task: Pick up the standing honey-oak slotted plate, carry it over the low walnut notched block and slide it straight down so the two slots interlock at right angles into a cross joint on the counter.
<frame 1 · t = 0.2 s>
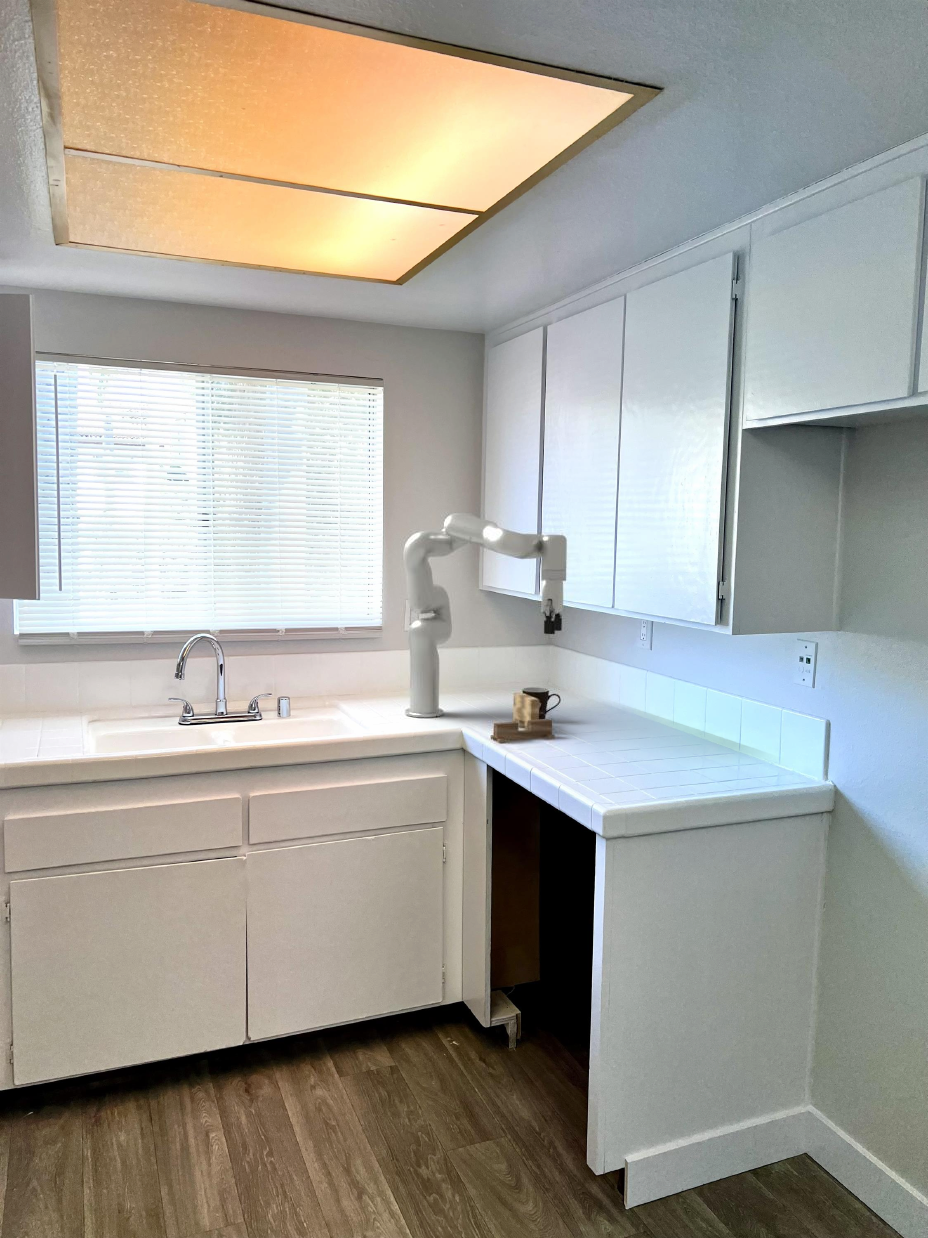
hand: (552, 632, 275), 30 cm above the counter, tool pointing down, fingers open, 9 cm apart
coffee mug: (539, 721, 290), on the counter
walnut notched block: (522, 738, 265), on the counter
oak slotted plate: (525, 728, 279), on the counter
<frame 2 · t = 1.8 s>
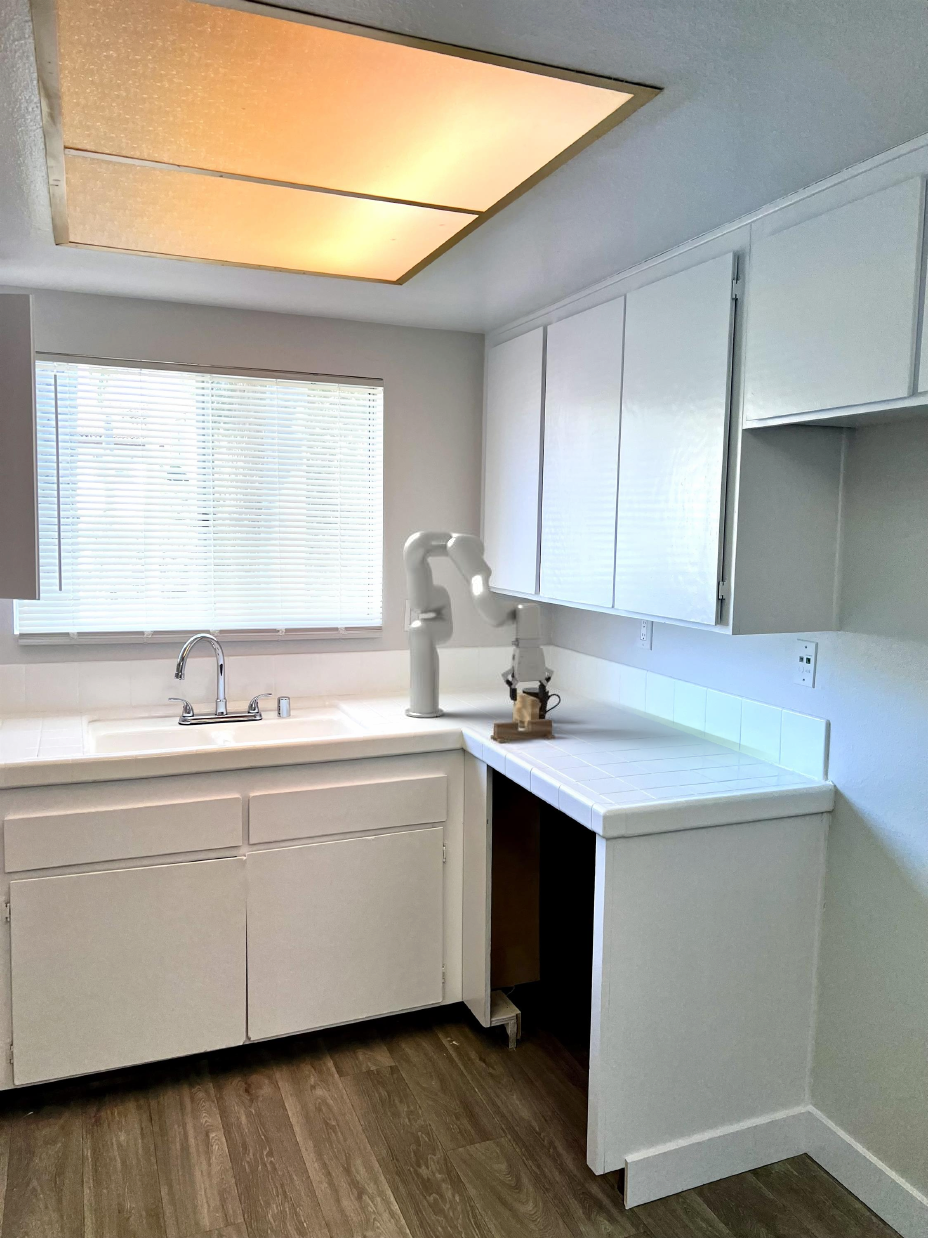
hand: (527, 699, 278), 9 cm above the counter, tool pointing down, fingers open, 9 cm apart
nothing on the counter moved.
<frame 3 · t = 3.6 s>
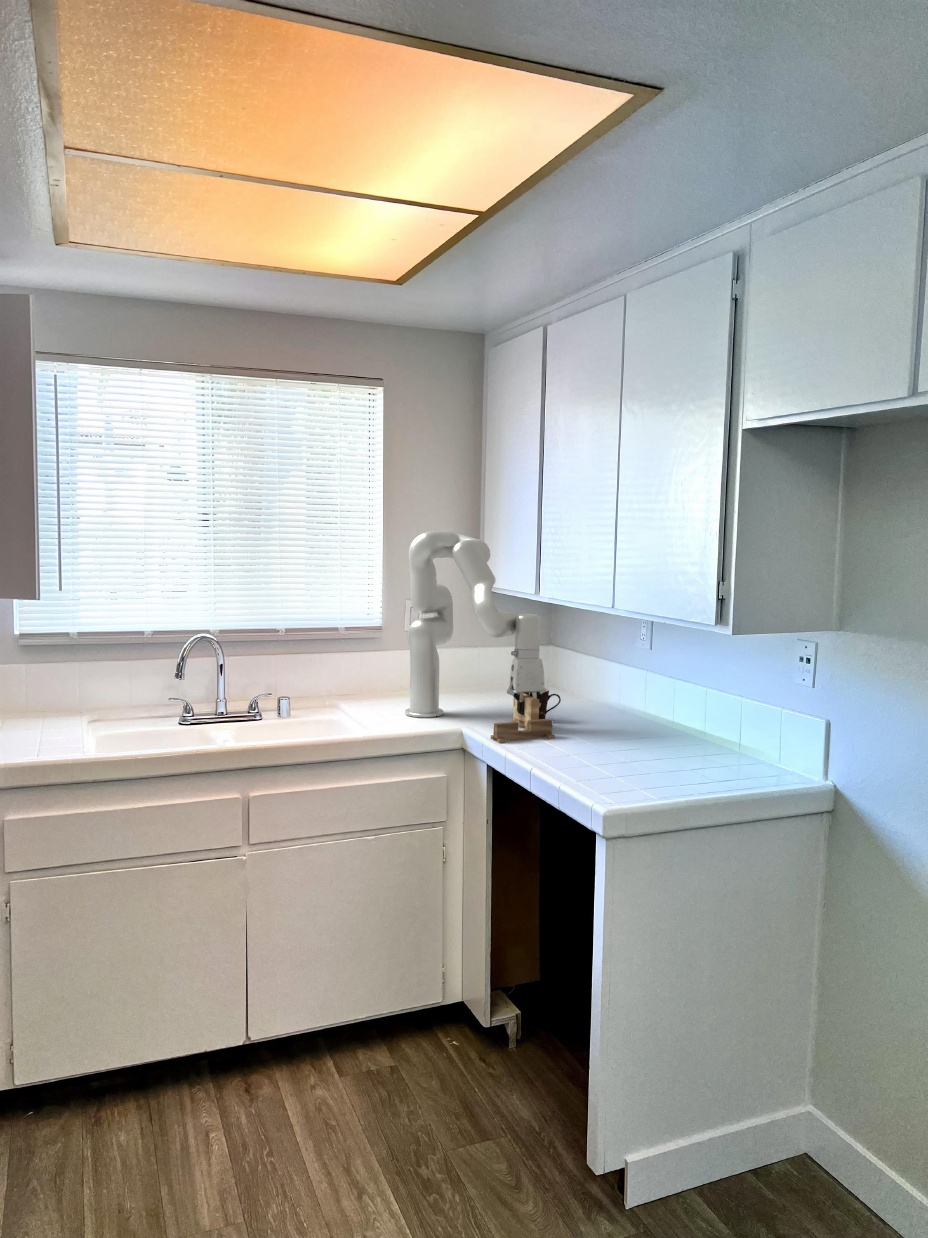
hand: (525, 713, 279), 5 cm above the counter, tool pointing down, fingers closed on oak slotted plate, 2 cm apart
oak slotted plate: (525, 728, 279), on the counter, touching gripper
everything else where it was.
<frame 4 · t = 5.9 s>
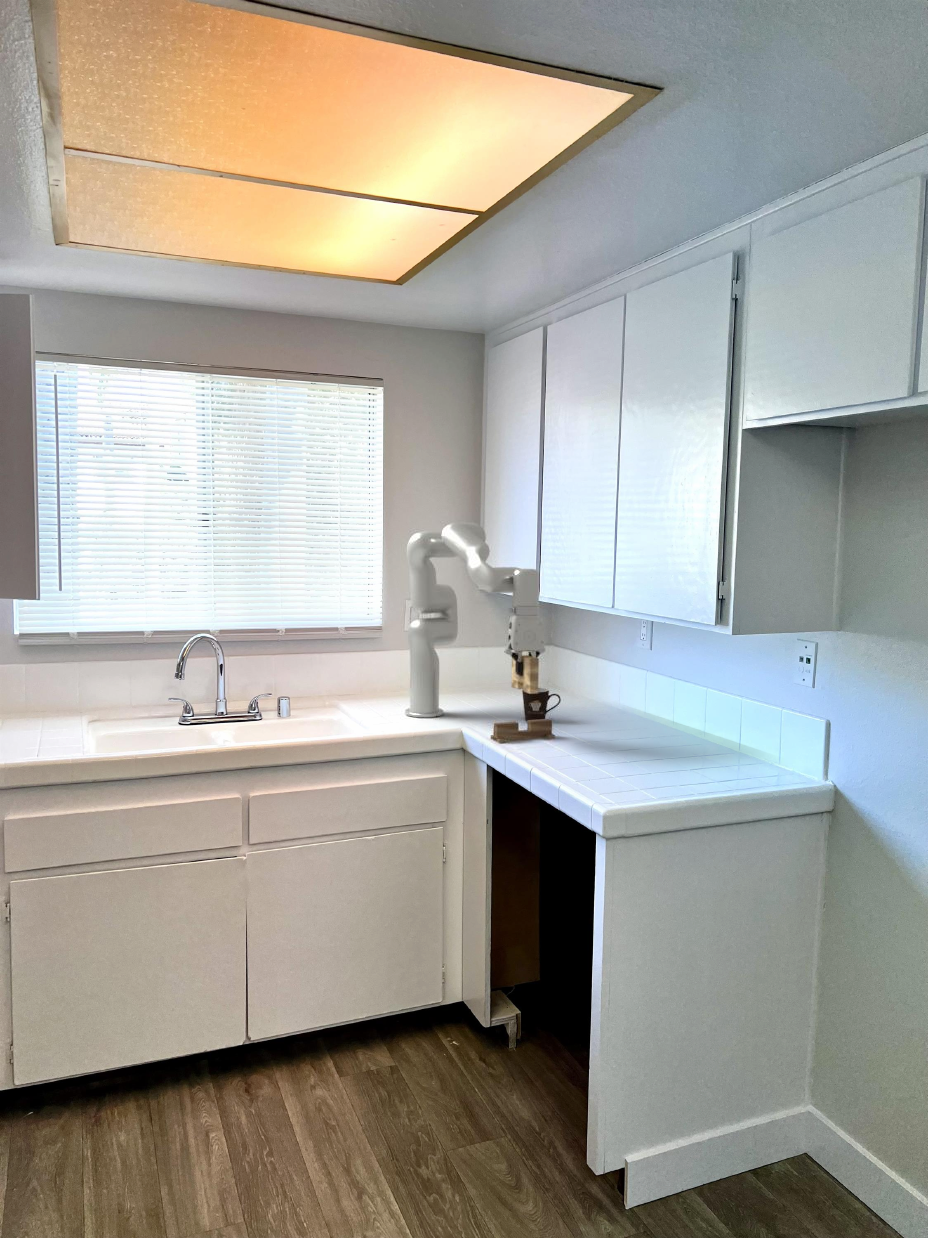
hand: (524, 674, 263), 19 cm above the counter, tool pointing down, fingers closed on oak slotted plate, 2 cm apart
oak slotted plate: (524, 690, 264), point 14 cm above the counter, touching gripper
everything else where it was.
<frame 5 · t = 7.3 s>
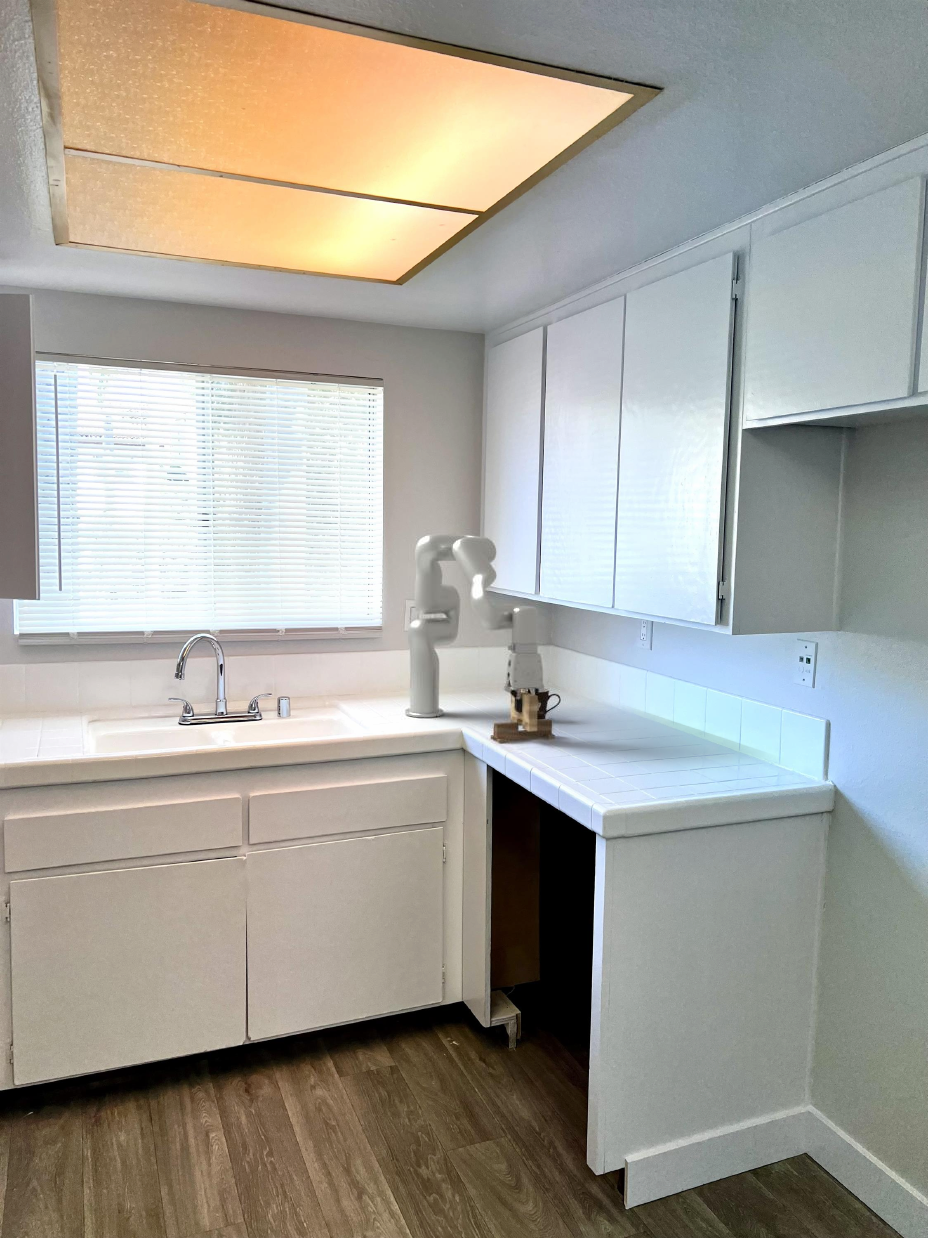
hand: (523, 711, 265), 8 cm above the counter, tool pointing down, fingers closed on oak slotted plate, 2 cm apart
oak slotted plate: (523, 726, 265), point 3 cm above the counter, touching gripper
everything else where it was.
when the fingers open (6 cm above the counter, at t = 8.3 s): oak slotted plate drops 1 cm, on the counter.
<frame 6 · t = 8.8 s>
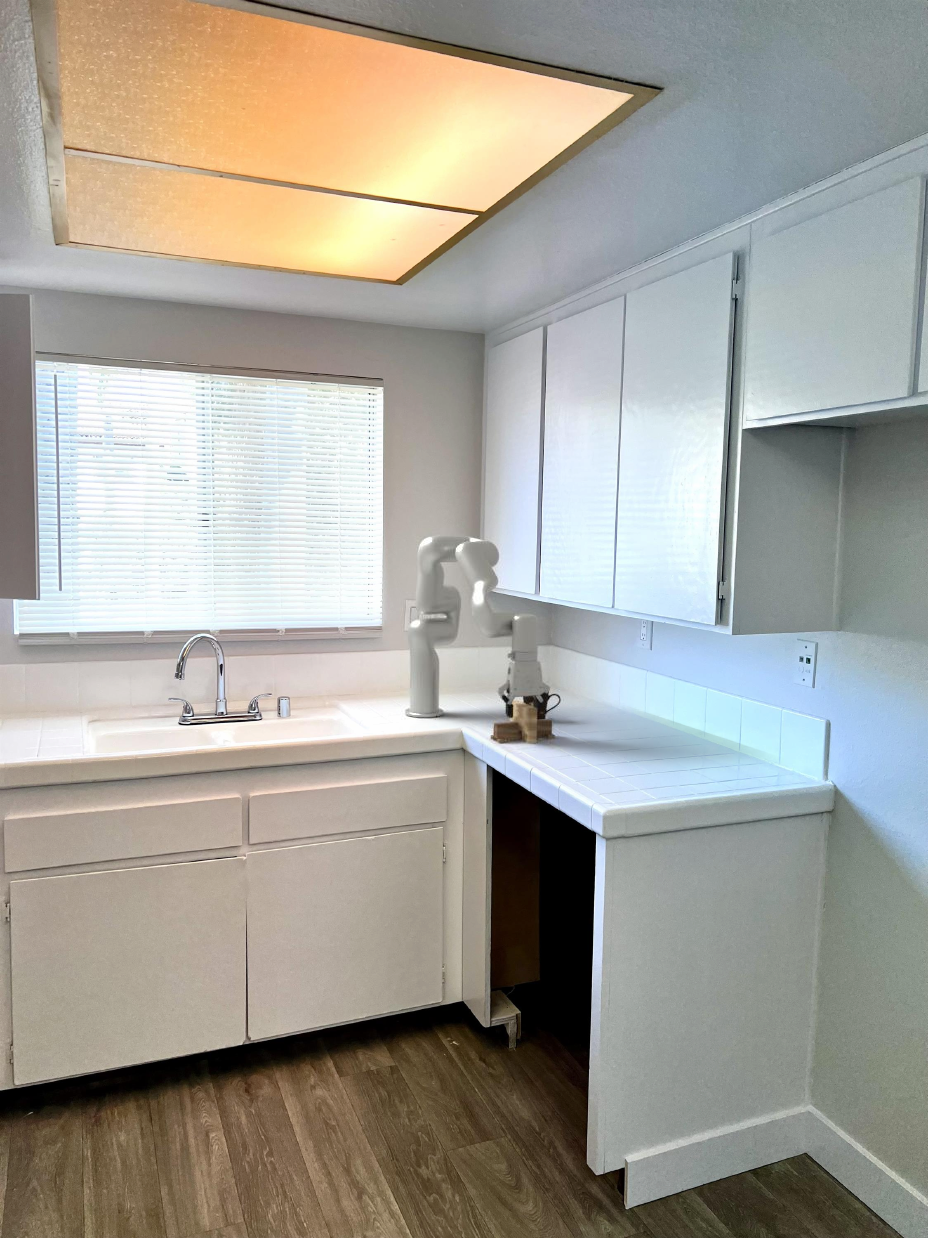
hand: (523, 715, 265), 7 cm above the counter, tool pointing down, fingers open, 8 cm apart
oak slotted plate: (522, 738, 265), on the counter
everything else where it was.
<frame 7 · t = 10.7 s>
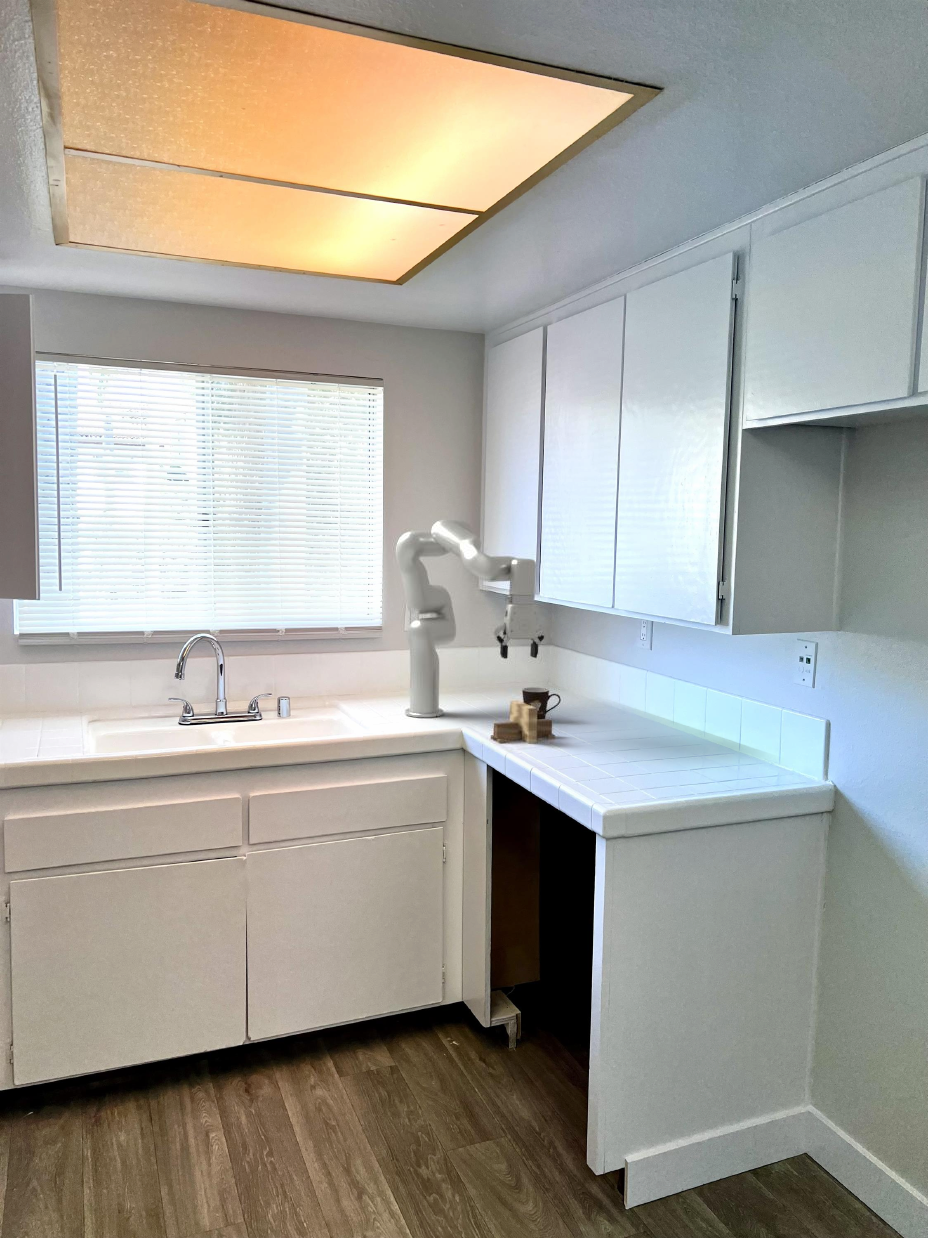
hand: (519, 657, 270), 23 cm above the counter, tool pointing down, fingers open, 9 cm apart
nothing on the counter moved.
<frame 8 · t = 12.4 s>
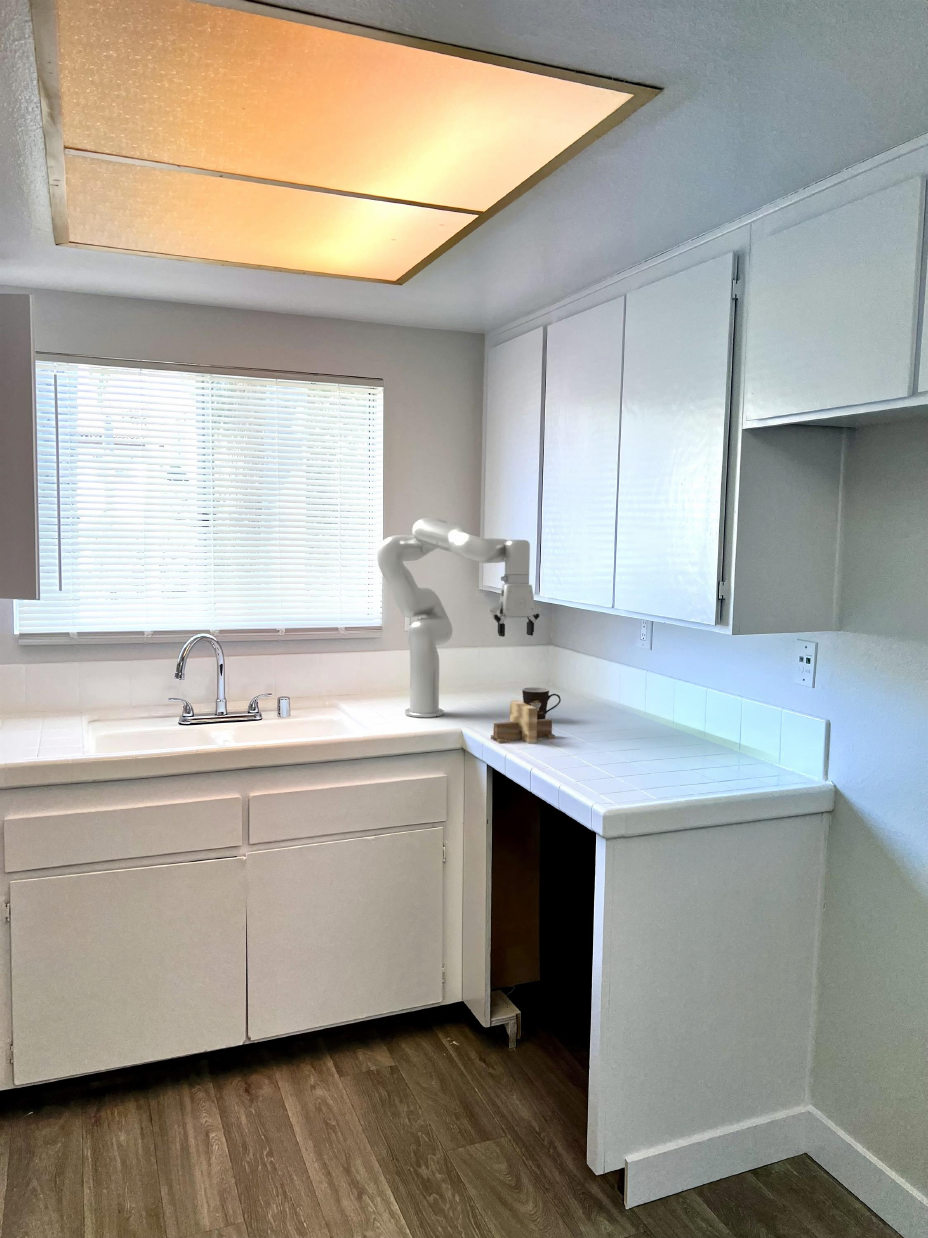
hand: (515, 635, 279), 28 cm above the counter, tool pointing down, fingers open, 9 cm apart
nothing on the counter moved.
at the end: oak slotted plate 0.0 cm off-centre on the walnut notched block, point 0.0 cm above the walnut notched block's base; oak slotted plate tilted 0°; the gripper is holding nothing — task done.
